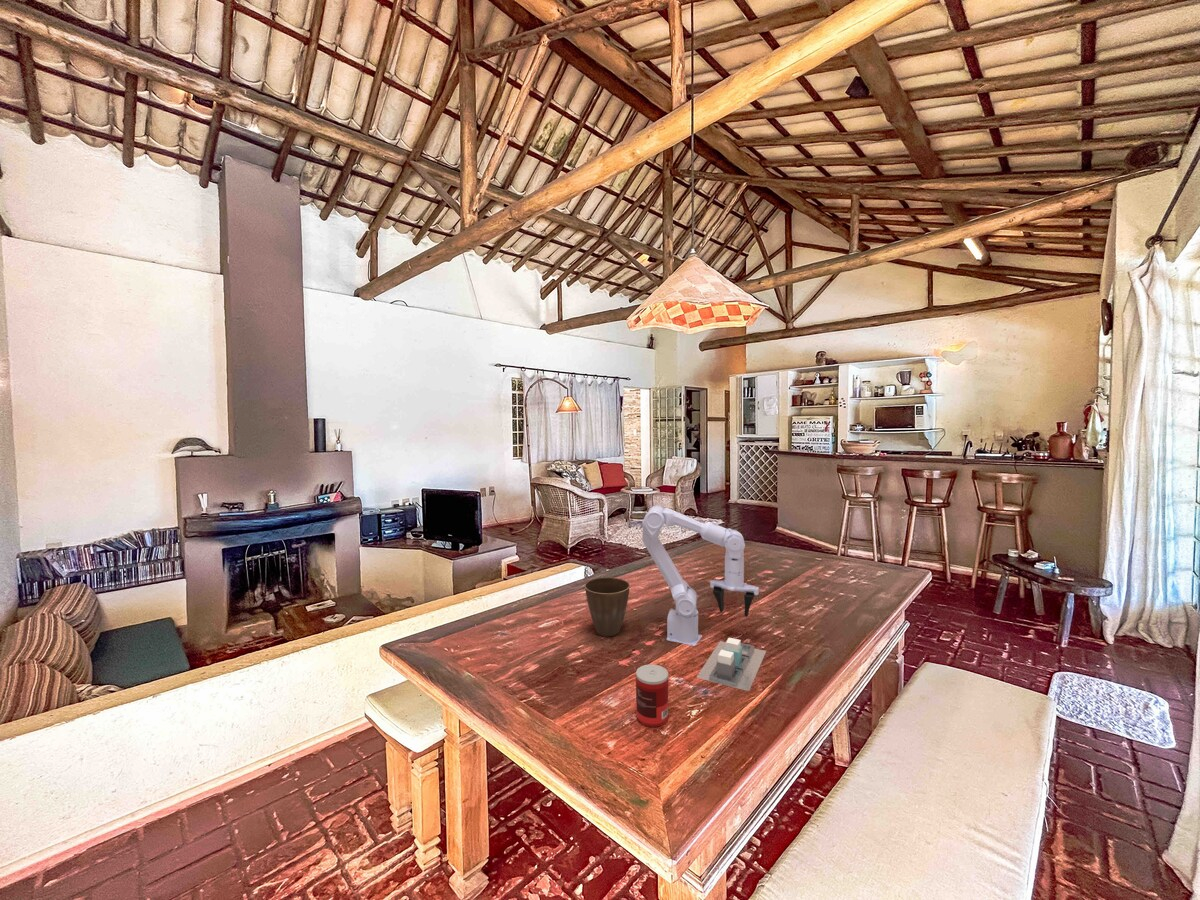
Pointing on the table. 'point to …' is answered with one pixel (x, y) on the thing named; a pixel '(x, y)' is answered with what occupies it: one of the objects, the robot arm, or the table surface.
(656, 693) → the canned food
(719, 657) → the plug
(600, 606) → the plant pot
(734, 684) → the panel
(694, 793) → the table surface
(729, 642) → the plug
